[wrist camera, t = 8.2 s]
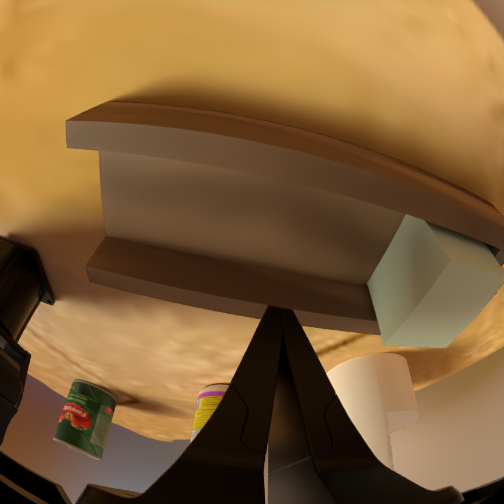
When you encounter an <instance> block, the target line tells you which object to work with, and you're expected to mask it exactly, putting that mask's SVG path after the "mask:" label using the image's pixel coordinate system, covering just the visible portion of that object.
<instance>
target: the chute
mask: <svg viewBox="0 0 504 504" xmlns="http://www.w3.org/2000/svg"><path fill="white" fill-rule="evenodd" d="M66 142H67V148H74V149H87V150H98V151H99V167H100V184H101V196H102V207H103V216H104V224H105V232H106V237H105V238H104V240H103V241H102V242H101V244H100V245H99V247H98V248H97V250H96V251H95V253H94V254H93V256H92V257H91V259H90V260H89V262H88V263H87V265H86V270H87V274H88V277H89V281H90V282H93V283H97V284H100V285H104V286H108V287H112V288H116V289H119V290H123V291H127V292H131V293H135V294H139V295H144V296H148V297H152V298H156V299H161V300H165V301H170V302H174V303H179V304H183V305H188V306H193V307H198V308H203V309H208V310H213V311H218V312H223V313H228V314H234V315H239V316H245V317H250V318H256V319H262V316H263V314H264V312H265V310H266V308H267V306H268V305H273V306H278V307H280V308H281V307H285V308H291V309H292V310H293V311H294V313H295V315H296V317H297V319H298V320H299V322H300V324H301V326H308V327H315V328H323V329H330V330H339V331H347V332H356V333H365V334H375V335H381V332H380V328H379V324H378V320H377V317H376V313H375V309H374V306H373V302H372V298H371V295H370V291H369V288H368V285H367V282H368V281H369V279H370V277H371V276H372V274H373V272H374V271H375V269H376V267H377V266H378V264H379V262H380V261H381V259H382V257H383V255H384V254H385V252H386V250H387V248H388V247H389V245H390V243H391V241H392V239H393V238H394V236H395V234H396V232H397V230H398V228H399V227H400V225H401V223H402V221H403V219H404V217H405V215H406V214H407V215H410V216H413V217H416V218H419V219H422V220H425V221H428V222H431V223H434V224H436V225H439V226H442V227H445V228H448V229H450V230H453V231H456V232H458V233H461V234H464V235H466V236H469V237H472V238H474V239H477V240H479V241H482V242H484V243H485V244H486V246H487V247H488V249H489V250H490V251H491V253H492V254H493V256H494V257H495V259H496V260H497V261H498V263H499V264H500V266H502V265H503V264H504V217H503V216H502V215H501V213H500V212H499V211H498V210H497V209H496V208H495V207H494V206H493V205H492V204H491V203H489V202H488V201H486V200H484V199H482V198H480V197H478V196H476V195H474V194H472V193H471V192H469V191H467V190H465V189H463V188H461V187H459V186H456V185H454V184H452V183H450V182H448V181H446V180H444V179H442V178H439V177H437V176H435V175H433V174H430V173H428V172H426V171H424V170H421V169H419V168H416V167H414V166H412V165H409V164H407V163H404V162H402V161H399V160H396V159H394V158H391V157H389V156H386V155H383V154H380V153H378V152H375V151H372V150H369V149H366V148H363V147H360V146H357V145H354V144H351V143H348V142H345V141H342V140H338V139H335V138H332V137H328V136H325V135H321V134H318V133H314V132H310V131H307V130H303V129H299V128H295V127H291V126H287V125H283V124H278V123H274V122H270V121H265V120H260V119H255V118H250V117H245V116H240V115H234V114H229V113H223V112H216V111H210V110H203V109H196V108H188V107H179V106H170V105H159V104H147V103H131V102H105V103H103V104H100V105H98V106H96V107H93V108H91V109H89V110H87V111H85V112H83V113H80V114H78V115H76V116H74V117H72V118H70V119H68V120H66Z"/></svg>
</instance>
